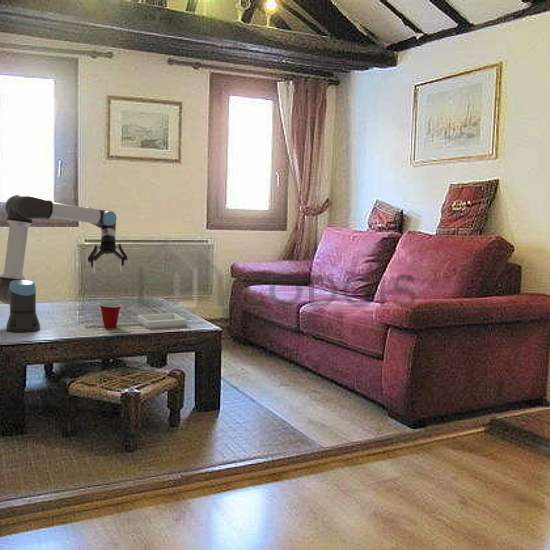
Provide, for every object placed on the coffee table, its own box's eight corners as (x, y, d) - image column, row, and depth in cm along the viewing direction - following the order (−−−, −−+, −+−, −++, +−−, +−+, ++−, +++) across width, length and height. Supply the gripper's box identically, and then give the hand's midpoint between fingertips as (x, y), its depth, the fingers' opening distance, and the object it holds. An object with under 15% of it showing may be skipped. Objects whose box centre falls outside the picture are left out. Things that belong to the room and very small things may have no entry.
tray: (147, 329, 319) (147, 322, 319) (137, 321, 337) (137, 315, 337) (186, 326, 328) (186, 319, 328) (174, 319, 346) (174, 313, 346)
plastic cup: (118, 329, 316) (118, 305, 314) (96, 329, 316) (96, 305, 315) (124, 325, 326) (124, 302, 325) (103, 324, 327) (103, 301, 325)
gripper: (132, 241, 352) (132, 274, 340) (85, 244, 348) (83, 276, 337) (131, 233, 345) (131, 265, 334) (83, 235, 342) (81, 268, 330)
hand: (107, 271), depth 335 cm, fingers open, 13 cm apart
